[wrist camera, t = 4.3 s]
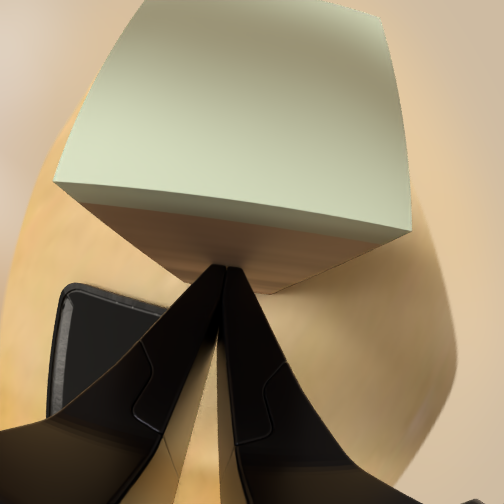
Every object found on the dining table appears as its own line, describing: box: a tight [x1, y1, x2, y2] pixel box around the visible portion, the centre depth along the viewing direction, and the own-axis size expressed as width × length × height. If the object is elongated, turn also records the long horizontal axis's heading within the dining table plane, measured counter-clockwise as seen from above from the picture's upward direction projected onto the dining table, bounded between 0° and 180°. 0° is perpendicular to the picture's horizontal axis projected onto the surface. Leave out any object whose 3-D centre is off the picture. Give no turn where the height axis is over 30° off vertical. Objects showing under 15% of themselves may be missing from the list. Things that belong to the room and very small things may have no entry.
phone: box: [46, 283, 168, 419], centre depth 14 cm, size 8×1×15 cm
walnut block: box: [53, 0, 412, 295], centre depth 10 cm, size 4×4×13 cm
